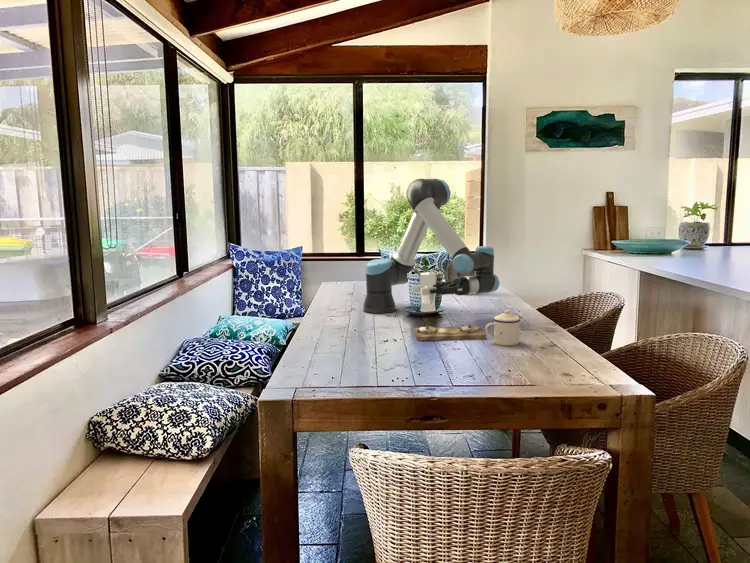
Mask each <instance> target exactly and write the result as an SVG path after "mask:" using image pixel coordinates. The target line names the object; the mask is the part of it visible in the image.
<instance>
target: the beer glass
mask: <svg viewBox="0 0 750 563" xmlns="http://www.w3.org/2000/svg"><path fill="white" fill-rule="evenodd" d="M437 279H438V278H437V272H432V271H431V272H430V271H427V272H426V271H425V272H423V271H422V272H420V273H419V280H418V281H419V283H418V285H419V289H420V292H419V294H420V299H421V300H420V301H421V303H420V310H419V311H420V312H423V313H432V312H433V313H434V312H436V304H435V302H436V301H435V300H436V295H437V294H433V295H424V296H422V295H421V288H432V287H437V282H438V280H437Z"/></svg>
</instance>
